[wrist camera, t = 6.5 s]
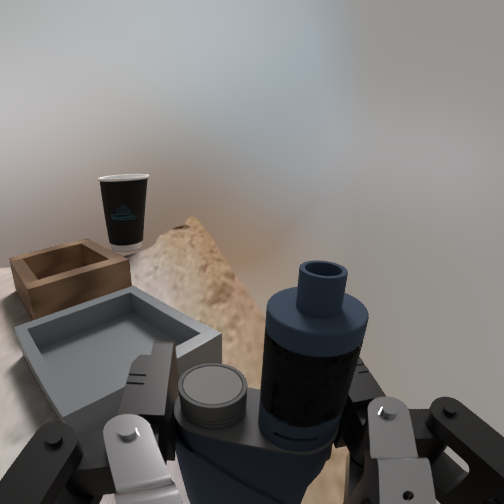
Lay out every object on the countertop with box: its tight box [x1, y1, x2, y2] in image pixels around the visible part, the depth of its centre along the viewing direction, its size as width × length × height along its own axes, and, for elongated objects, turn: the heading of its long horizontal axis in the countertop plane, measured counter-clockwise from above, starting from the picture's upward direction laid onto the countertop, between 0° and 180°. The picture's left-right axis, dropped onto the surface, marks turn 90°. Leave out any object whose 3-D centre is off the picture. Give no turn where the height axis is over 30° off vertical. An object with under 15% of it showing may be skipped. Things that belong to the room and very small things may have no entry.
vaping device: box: [174, 261, 368, 504], centre depth 9 cm, size 3×5×12 cm, turn 77°
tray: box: [14, 286, 222, 434], centre depth 20 cm, size 12×11×3 cm
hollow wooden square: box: [9, 239, 132, 320], centre depth 29 cm, size 11×11×4 cm
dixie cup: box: [98, 174, 149, 252], centre depth 44 cm, size 8×8×11 cm
